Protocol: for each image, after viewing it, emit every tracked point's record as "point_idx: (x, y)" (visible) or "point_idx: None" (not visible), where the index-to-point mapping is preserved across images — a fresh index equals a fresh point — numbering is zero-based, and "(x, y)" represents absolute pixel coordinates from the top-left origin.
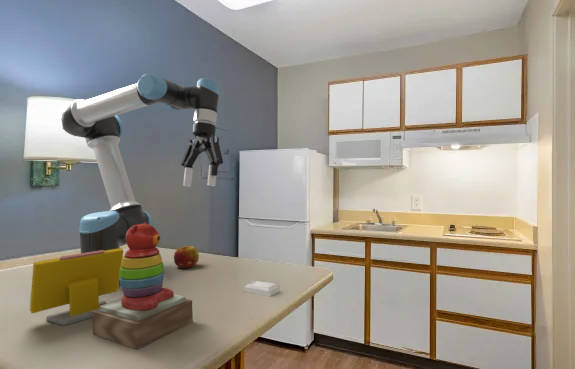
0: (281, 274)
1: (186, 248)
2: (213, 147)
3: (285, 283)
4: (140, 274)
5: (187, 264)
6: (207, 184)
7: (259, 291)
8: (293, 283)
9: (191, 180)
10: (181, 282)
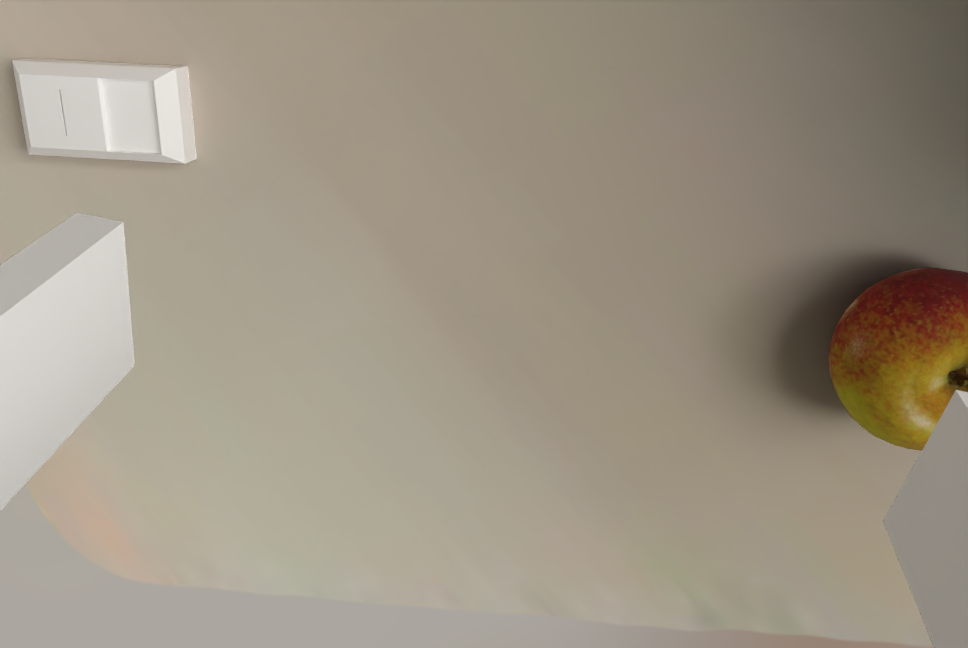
0: (227, 411)
1: None
2: None
3: None
4: None
5: (859, 295)
6: (109, 230)
7: (81, 62)
8: None
9: (931, 627)
10: (662, 26)
